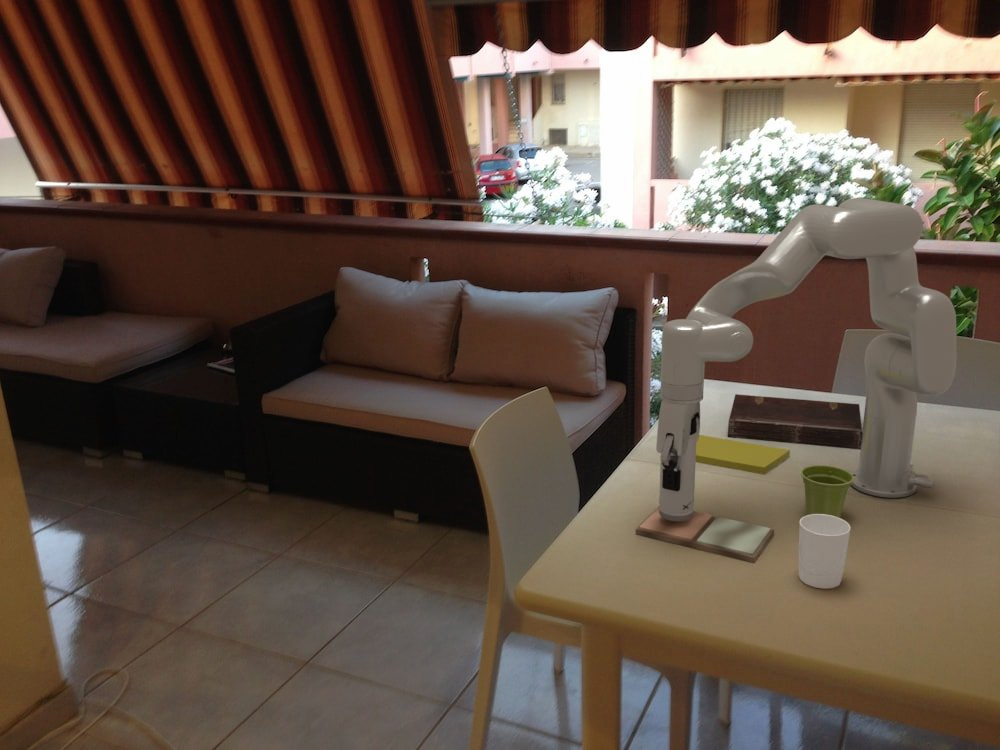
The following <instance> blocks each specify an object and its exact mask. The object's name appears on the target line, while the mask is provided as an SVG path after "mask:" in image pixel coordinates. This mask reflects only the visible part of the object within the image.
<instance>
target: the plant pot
mask: <svg viewBox="0 0 1000 750" xmlns="http://www.w3.org/2000/svg"><path fill="white" fill-rule="evenodd" d="M800 475H801V477H802V481H803V484H804V496H805V497H804V499H805V513H806V515H811V514H826V515H832V516H835V517H838V518H841V516H842V513H843V508H844V506H845V502H846V497H847V495H848V491H849V489H850V487H851V483H852V482H853V480H854V476H853V475H852V472H850V471H848V470H846V469H843V468H840V467H837V466H833V465H825V464H824V465H823V464H813V465H807V466H804V467H803V468H801V469H800Z"/></svg>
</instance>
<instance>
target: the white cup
mask: <svg viewBox="0 0 1000 750" xmlns="http://www.w3.org/2000/svg"><path fill="white" fill-rule="evenodd" d="M798 523H799V525H798V527H799V529H798V531H799V532H798V577H799V580H800V581H802V582H803V583H804V584H805V585H806V586H810V587H812V588H817V589H824V590H827V589H834V588H837V587H839V586H840V585H841V583H842V580H843V574H844V573H843V572H844V569H845V567H846V566H845V564H846V559H847V554H848V548H849V543H850V542H849V539H850V533H851V529H852V527H851V525H850V524H849V522H847V520H845V519H843V518H841V517H840V518H838V517H835V516H832V515H826V514H811V515H807V514H806V515H804V516H802V517H801V518H800V520H799V522H798Z"/></svg>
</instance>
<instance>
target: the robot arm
mask: <svg viewBox="0 0 1000 750" xmlns="http://www.w3.org/2000/svg"><path fill="white" fill-rule="evenodd" d="M923 229H924V223H923V219H922V216H921V215H920V213H919V212H918V211H917V210H916V209H915V208H914V207H912V206H910V205H908V204H903V203H897V202H889V201H883V200H878V199H871V198H862V197H854V198H849V199H846V200H844V201H843V202H841V203H840V204H839V205H838V206H835V205H828V204H827V205H826V204H810V205H808V206H805V207H803V208H802V209H800V210H799V211H798V212H797V213H796V215H795V216H794V217H793V218H792V219H791V220H789V223H787V225H786V226H785V227H784V228H783V229H782V230H781V231H780V232H779V234H778V235H777V236H776V237H775V238H774V240H773V241H772V242H771V243H770V244H769V246H767V247H766V249H765V250H764V251H763V252H762V253H761V254H760V256H758V258H756V260H754V261H753V262H752V263H750V264H748V265H746V266H744V267H743V268H740V269H738V270H737V271H736V272H733V273H732V274H731V275H729V276H726V277H725V278H724V279H722V280H720V281H718V282H717V283H715V284H714V285H713V286H712V287H711V288H710V289H708V290H707V291H706V293H705V294H704V295H703V296H702V297H701V298H700V300H698V301H697V302H696V303H695V305H694V306H693V308H692V309H691V310H690V311H689V313H688V315H687V316H686V318H683V319H682V318H680V319H673V320H669V321H667V322H666V323H665V324H664V325H663V327H662V332H661V355H660V356H661V358H660V361H661V362H660V393H659V395H660V397H659V398H660V399H661V403H660V407H659V412H658V413H659V414H658V421H657V434H656V445H655V448H656V451H657V453H660V457H659V458H660V462H661V461H662V469H663V480H662V487H663V488H664V489H668V490H672V491H677V492H678V491H679V490H680V480H681V470H679V466H680V460H681V456H682V455H683V454H685V453H686V450H687V446H688V441H689V439H690V438H689V436H690V432H691V430H690V428H691V419H692V418H694V417H695V414H696V413H697V412H699V419H698V417H697V418H696V422H697V426H696V427H697V434H696V435H697V440H696V442H697V441H698V439H699V435H700V430H701V402H702V401H703V399H704V388H705V387H704V386H705V385H704V383H705V369H706V368H705V364H706V362H722V363H725V362H726V363H730V362H732V363H733V362H736V361H739V360H741V359H743V358H744V357H746V356H747V355H748V354H749V353H750V352H751V351H752V348H753V344H754V336H753V333H752V330H751V329H750V328H749V326H747V325H746V324H745V323H743V322H742V321H741V320H738V319H735V318H732V317H733V316H734V315H736V313H738V312H739V311H741V309H744V308H746V307H748V306H750V305H751V304H755V303H756V302H758V303H759V302H761V301H765V300H771V299H776V298H779V297H783V296H786V295H789V294H792V292H793V291H795V289H797V288H798V286H799V284H801V282H802V281H803V280H804V279H805V278H806V277H807V276H808V274H809V273H810V272H811V271H812V270H813V269H814V268H815V266H816V265H817V264H818V263H819V262H820V261H821V260H822V259H823V257H825V256H828V257H829V256H830V257H833V258H837V259H842V260H843V259H844V260H855V259H856V260H858V259H865V260H866V264H867V271H868V285H869V286H868V287H869V306H870V307H869V308H870V309H869V310H870V315H871V316H870V317H871V319H872V322H873V323H874V324H875V325H876V326H877V327H879V328H881V329H883V330H886V331H888V332H887V333H881V334H879V335H877V336H875V337H874V338H873V339H872V340H871V341H870V342H869V343H868V345H867V347H866V349H865V352H864V361H863V363H864V372H865V374H864V375H865V385H866V386H865V387H866V388H865V391H866V392H865V403H864V405H865V406H864V413H863V422H862V441H861V450H860V452H859V460H858V461H859V462H858V469H857V470H855V471H853V472H851V474H852V475H853V476H854V480H853V482H852V483H851V484H850V486H852V487H853V488H854V489H855V490H857V491H859V492H861V493H864V494H867V495H870V496H873V497H878V498H886V499H887V498H889V499H895V498H896V499H897V498H905V497H909V496H912V495H913V494H914V493H915V492H916V490H917V486H918V487H921V488H926V489H933V484H934V479H933V478H930V477H929V474H926V473H918V472H916V470H914V465H913V464H912V463H911V460H912V453H913V445H914V436H915V435H914V434H915V429H916V427H915V426H916V421H917V420H916V419H917V413H918V397H917V394H919V395H922V396H927V397H935V396H939V395H941V394H942V395H943V393H944V392H946V391H947V390H948V389H949V388H950V387H951V385H952V384H953V382H954V379H955V376H956V370H957V354H958V352H957V347H958V346H957V315H956V314H957V313H956V310H955V309H956V308H955V307H954V305H953V303H952V300H951V299H950V298H949V297H948V296H947V295H946V294H945V293H943V292H941V291H938V290H936V289H933V288H929V287H925V286H922V285H921V284H920V281H919V274H918V262H917V261H918V260H917V255H916V251H915V248H914V246H915V245H917V243H918V242H919V240H920V239H921V238H922V234H923V231H924V230H923ZM672 449H676V450H677V453H671V451H672ZM661 452H662V453H661ZM670 456H674V457H676V460H675V463H674V461H673V460H671V457H670Z"/></svg>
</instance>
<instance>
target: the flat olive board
mask: <svg viewBox="0 0 1000 750" xmlns="http://www.w3.org/2000/svg"><path fill="white" fill-rule="evenodd" d="M790 454H791V449H785V448H779V447H774V446H767V445H762V444H756V443H751V442H745V441H739V440H733V439H727V438H720V437H715V436H709V435H701V434H699V439H698V441H697V442H696V463H699V464H704V465H709V466H716V467H720V468H725V469H730V470H736V471H741V472H748V473H753V474H758V475H764V476H765V475H766V474H767V473H768V472H770V471H771V470H773V469H774V468H776V467H778V465H780V464H781V463H783V462H785V461H786V460H787V459H788V458H790Z"/></svg>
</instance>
